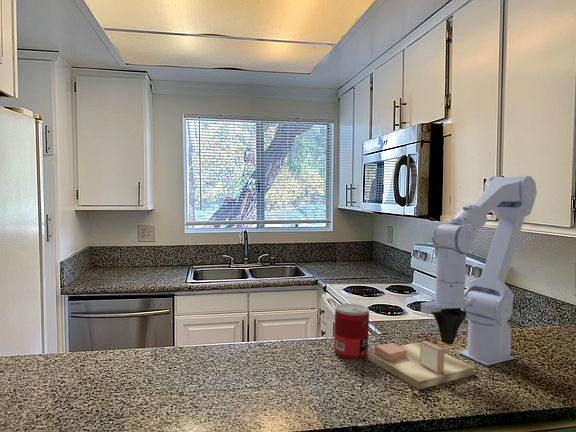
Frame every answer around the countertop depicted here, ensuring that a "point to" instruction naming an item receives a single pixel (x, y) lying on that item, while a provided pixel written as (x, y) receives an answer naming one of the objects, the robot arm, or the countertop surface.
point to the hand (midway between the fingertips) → (447, 342)
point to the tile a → (390, 351)
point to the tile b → (432, 357)
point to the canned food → (351, 331)
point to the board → (422, 368)
